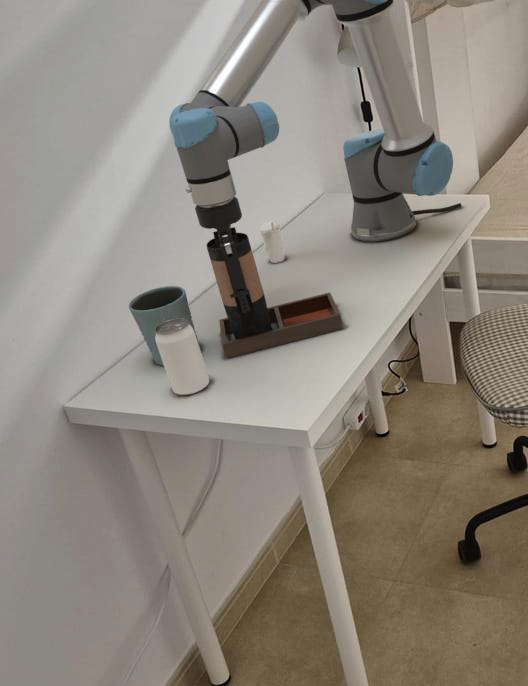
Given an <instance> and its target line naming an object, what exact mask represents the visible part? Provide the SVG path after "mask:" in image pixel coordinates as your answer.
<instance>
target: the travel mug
mask: <svg viewBox="0 0 528 686" xmlns="http://www.w3.org/2000/svg"><path fill="white" fill-rule="evenodd" d="M236 233H237V237H238V244H237V245H236V246H235V247H236V251H237V255H238V258H239V261H240V265H241V268H242V272H243V275H244V279H245V283H246V286H247V289H248V290H249V294H250V297H251V301H252V304H253V308H254V311H255V315H256V319H257V322H258V324H257V325H253V326H249V327H245V328H243V325H242V321H241V318H240V315H239V311H238V308H237V304H236V301H235V297H233V298H231V297H230V295H231V294H233V289H232V286H231V282H230V279H229V275H228V272H227V268H226V265H225V261H224V258H223V254H222V251H221V249H220V248H218V246H217V245H216V243H215V239H214V238H211V239H210V240H208V242H207V243H206V250H207V253H208V256H209V260H210V263H211V267H212V271H213V274H214V277H215V281H216V284H217V288H218V291H219V294H220V299H221V301H222V304H223V308H224V310H225V313H226V318H228V320H229V323H230V326H231V329H232V332H233V333H232V335H233V337H234V340H235V339H239V338H243V337H247V336H251V335H255V334H259V333H263V332H267V331H271V330H273V326H272V323H271V321H270V317H269V313H268V309H267V308H268V305H267V301H266V297H265V296H266V295H265V292H264V289H263V285H262V282H261V277H260V274H259V271H258V267H257V263H256V260H255V257H254V254H253V249H252V246H251V243H250V239H249V236H248V235H247V234H246V233H244V232H236ZM233 241H234V240H233ZM220 244H221V243H220Z"/></svg>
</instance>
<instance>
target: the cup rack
mask: <svg viewBox="0 0 528 686" xmlns="http://www.w3.org/2000/svg"><path fill="white" fill-rule="evenodd" d="M267 309H268V313H269V317H270V321H271V324H272V323H276V322H277V324H278V328H276V329H272V330H271V331H267V332H263V333H259V334H255V335H251V336H247V337H243V338H239V339H235V338H234V339H231V340H229V334H233V332H232V329H231V326H230V323H229V320H228V317H224V318H221V319H220V318H219V320H218V322H219V328H220V336H221V343H222V347H223V351H224V354H225V357H226V359H231V358H235V357H238V356H242V355H245V354H250V353H254V352H257V351H262V350H265V349H269V348H273V347H274V348H275V347H278V346H281V345H282V346H283V345H285V344H289V343H293V342H296V341H300V340H304V339H307V338H308V339H309V338H314V337H316V336H321V335H325V334H328V333H332V332H335V331H339V330H340V331H341V330H344V326H343V321H342V317H341V314H340V312H339V309H338V307H337V305H336V302H335V300H334V298H333V295H332V293H331V292H330V291H329V292H326V293H322V294H318V295H313V296H309V297H306V298H305V297H304V298H302V299H297V300H294V301H289V302H285V303H280V304H277V305H274V306H269V307H267Z"/></svg>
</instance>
